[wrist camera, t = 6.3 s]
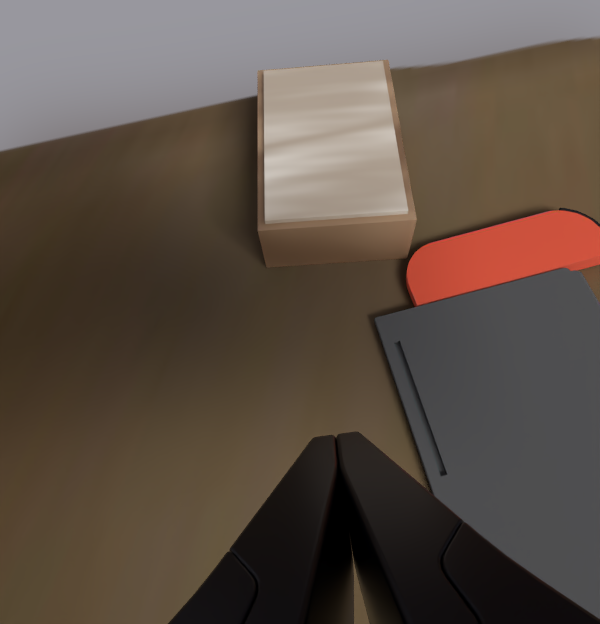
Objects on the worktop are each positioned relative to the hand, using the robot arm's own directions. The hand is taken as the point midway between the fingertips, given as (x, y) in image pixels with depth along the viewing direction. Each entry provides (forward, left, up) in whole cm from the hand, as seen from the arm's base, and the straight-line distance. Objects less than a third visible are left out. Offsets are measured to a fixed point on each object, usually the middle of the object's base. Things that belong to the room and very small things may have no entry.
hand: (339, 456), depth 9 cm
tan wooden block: (+8, -5, -8) cm, 12 cm away
